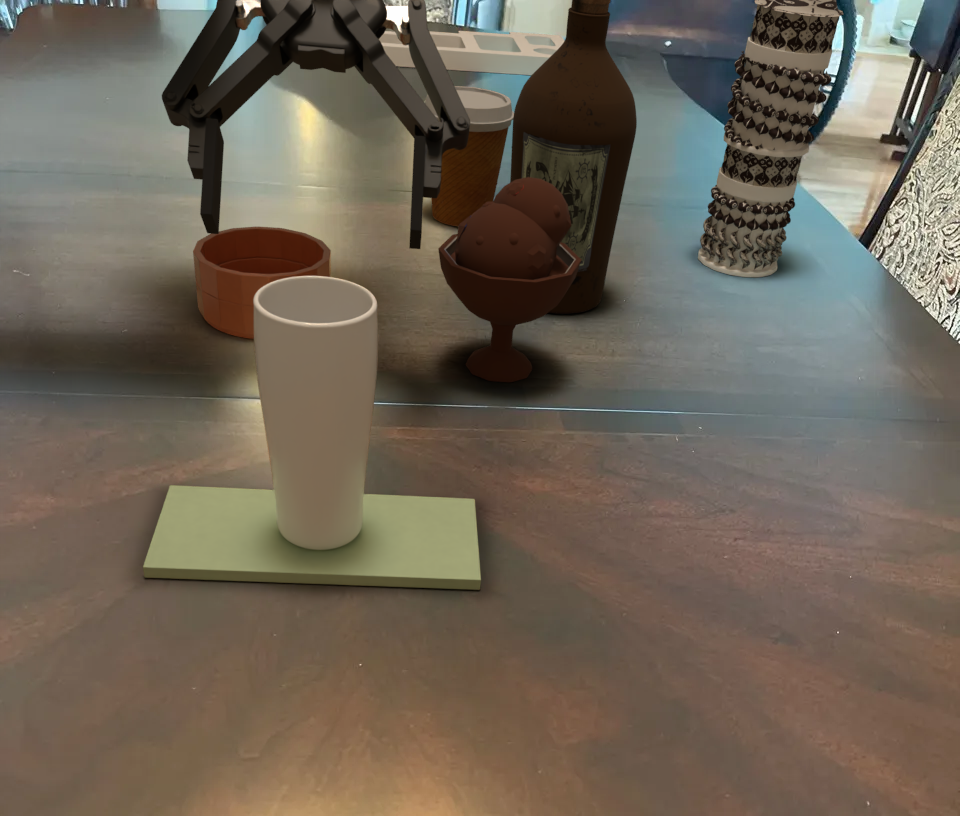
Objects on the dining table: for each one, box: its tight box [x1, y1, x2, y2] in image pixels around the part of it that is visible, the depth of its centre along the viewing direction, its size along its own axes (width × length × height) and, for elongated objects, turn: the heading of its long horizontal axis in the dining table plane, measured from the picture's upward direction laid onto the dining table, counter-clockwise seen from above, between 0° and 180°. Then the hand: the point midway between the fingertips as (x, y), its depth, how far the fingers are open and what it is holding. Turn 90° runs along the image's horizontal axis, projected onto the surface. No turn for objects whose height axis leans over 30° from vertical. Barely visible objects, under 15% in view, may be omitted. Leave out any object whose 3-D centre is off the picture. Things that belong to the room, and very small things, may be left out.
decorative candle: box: [697, 0, 845, 278], centre depth 103 cm, size 9×9×25 cm
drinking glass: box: [253, 276, 379, 550], centre depth 61 cm, size 7×7×15 cm
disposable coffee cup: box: [424, 85, 514, 227], centre depth 111 cm, size 10×10×12 cm
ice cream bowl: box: [437, 177, 581, 383], centre depth 83 cm, size 11×11×15 cm
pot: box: [192, 226, 332, 340], centre depth 90 cm, size 11×11×6 cm
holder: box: [379, 30, 565, 76], centre depth 172 cm, size 45×18×3 cm, turn 96°
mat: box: [142, 484, 482, 591], centre depth 66 cm, size 20×9×1 cm, turn 93°
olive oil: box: [509, 0, 638, 315], centre depth 92 cm, size 11×11×25 cm
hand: (313, 232), depth 70 cm, fingers open, 13 cm apart
